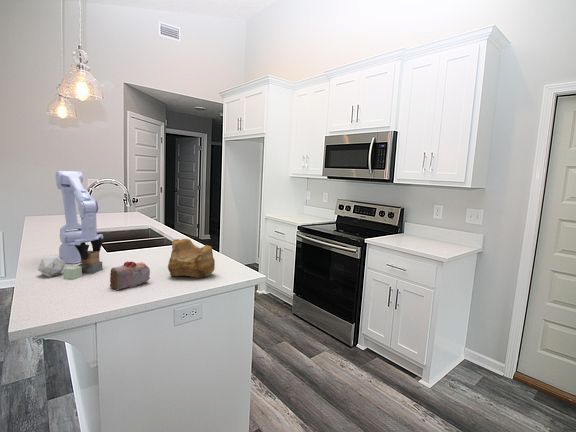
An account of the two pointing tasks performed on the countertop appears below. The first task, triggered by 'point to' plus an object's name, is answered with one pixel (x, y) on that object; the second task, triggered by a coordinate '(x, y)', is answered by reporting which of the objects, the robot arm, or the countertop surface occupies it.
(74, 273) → the sage cube
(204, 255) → the rough brown rock
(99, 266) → the charcoal base block
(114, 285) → the food item
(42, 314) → the countertop surface
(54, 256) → the pale gray rock
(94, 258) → the walnut cube
